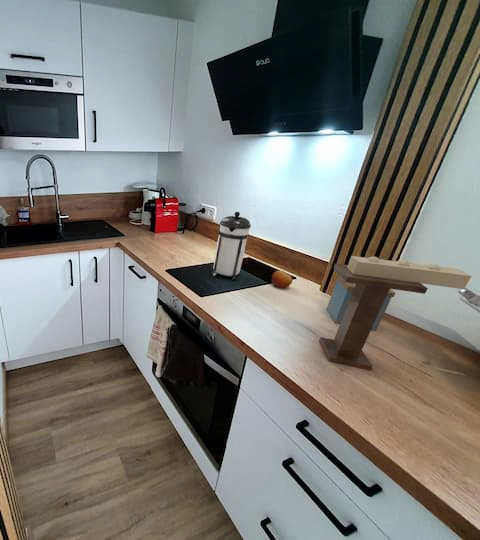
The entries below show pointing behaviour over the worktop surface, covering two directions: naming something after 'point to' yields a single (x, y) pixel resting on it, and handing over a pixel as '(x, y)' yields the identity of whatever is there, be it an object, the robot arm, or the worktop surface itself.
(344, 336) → the wooden pedestal stand
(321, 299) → the worktop surface
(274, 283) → the fruit
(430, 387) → the worktop surface
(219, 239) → the coffee press
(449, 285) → the egg box
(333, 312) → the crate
